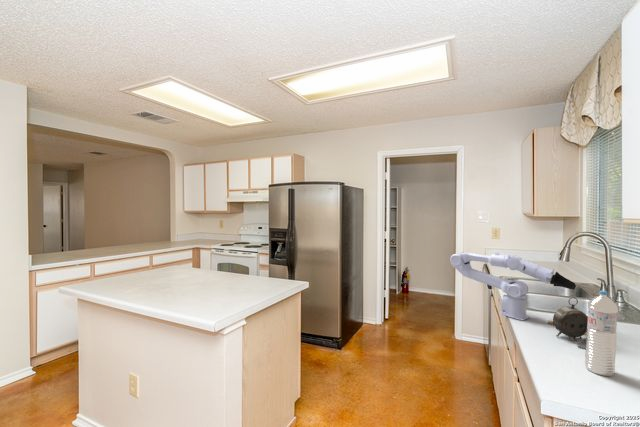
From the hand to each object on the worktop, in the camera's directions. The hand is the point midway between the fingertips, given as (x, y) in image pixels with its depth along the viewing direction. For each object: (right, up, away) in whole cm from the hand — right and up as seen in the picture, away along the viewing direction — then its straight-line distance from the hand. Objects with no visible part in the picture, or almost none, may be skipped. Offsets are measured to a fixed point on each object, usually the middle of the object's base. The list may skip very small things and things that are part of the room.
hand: (574, 286), depth 126 cm
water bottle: (-17, -19, -30) cm, 40 cm away
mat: (-3, -19, -13) cm, 23 cm away
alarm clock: (-7, -19, -7) cm, 21 cm away
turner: (0, -18, +3) cm, 18 cm away
